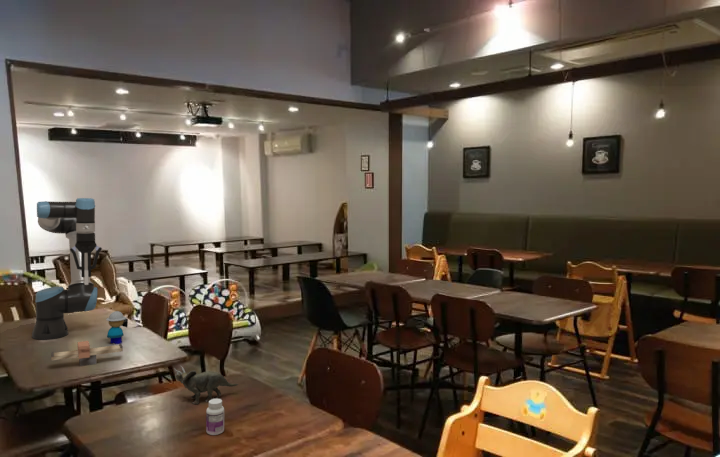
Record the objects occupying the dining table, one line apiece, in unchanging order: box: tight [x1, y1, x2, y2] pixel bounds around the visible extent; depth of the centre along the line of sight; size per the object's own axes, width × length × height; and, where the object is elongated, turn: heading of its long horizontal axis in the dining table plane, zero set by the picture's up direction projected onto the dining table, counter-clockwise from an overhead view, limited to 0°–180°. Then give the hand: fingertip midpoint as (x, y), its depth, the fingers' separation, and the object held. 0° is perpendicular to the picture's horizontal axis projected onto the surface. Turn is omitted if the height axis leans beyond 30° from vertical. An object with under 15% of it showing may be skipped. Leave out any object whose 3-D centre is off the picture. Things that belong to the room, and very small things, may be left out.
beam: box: [50, 343, 124, 367], centre depth 213 cm, size 26×5×6 cm, turn 122°
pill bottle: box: [205, 398, 225, 436], centre depth 157 cm, size 5×5×10 cm
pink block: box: [77, 340, 91, 360], centre depth 212 cm, size 4×7×5 cm, turn 31°
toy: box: [105, 310, 129, 345], centre depth 243 cm, size 8×9×15 cm
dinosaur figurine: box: [174, 365, 239, 405], centre depth 180 cm, size 22×8×11 cm, turn 100°
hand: (86, 284), depth 232 cm, fingers closed
